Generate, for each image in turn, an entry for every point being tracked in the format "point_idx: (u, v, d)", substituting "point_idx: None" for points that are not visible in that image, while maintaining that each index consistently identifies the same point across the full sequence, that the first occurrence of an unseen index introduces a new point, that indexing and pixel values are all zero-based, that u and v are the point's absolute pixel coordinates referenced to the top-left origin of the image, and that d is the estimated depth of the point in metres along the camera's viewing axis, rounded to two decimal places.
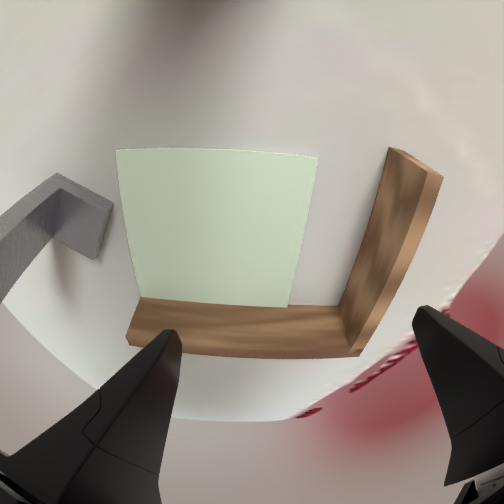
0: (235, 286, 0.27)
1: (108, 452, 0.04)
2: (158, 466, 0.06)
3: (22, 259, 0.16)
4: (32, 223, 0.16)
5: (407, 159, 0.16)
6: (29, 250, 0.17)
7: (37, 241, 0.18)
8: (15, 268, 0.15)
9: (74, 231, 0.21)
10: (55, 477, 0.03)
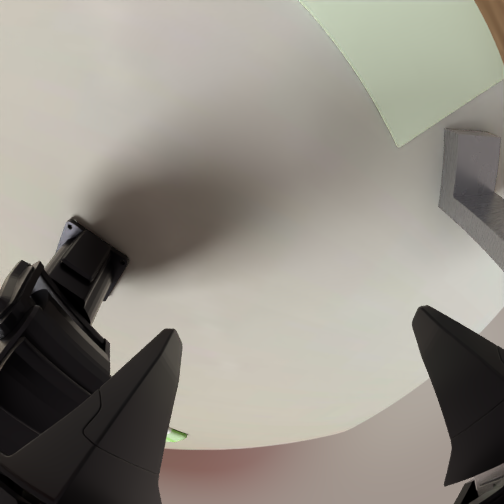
0: None
1: (108, 452, 0.04)
2: (158, 466, 0.06)
3: None
4: (494, 220, 0.13)
5: None
6: None
7: None
8: None
9: (483, 166, 0.15)
10: (55, 477, 0.03)
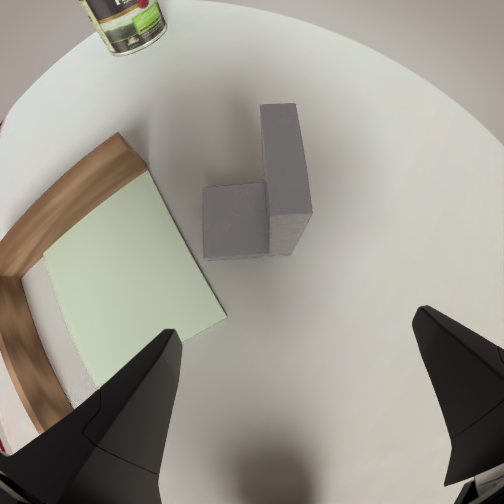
0: (79, 247, 0.24)
1: (108, 452, 0.04)
2: (158, 466, 0.06)
3: (264, 170, 0.17)
4: None
5: None
6: None
7: None
8: None
9: (234, 210, 0.22)
10: (55, 477, 0.03)
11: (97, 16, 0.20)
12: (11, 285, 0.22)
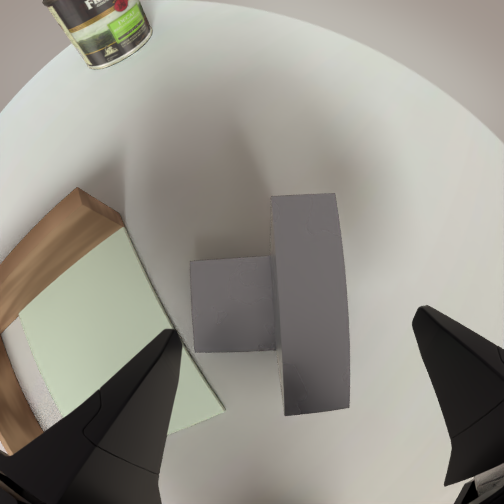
0: (53, 315, 0.19)
1: (108, 452, 0.04)
2: (158, 466, 0.06)
3: None
4: (276, 337, 0.13)
5: None
6: None
7: (272, 280, 0.14)
8: (273, 269, 0.10)
9: (231, 294, 0.17)
10: (55, 477, 0.03)
11: (67, 23, 0.16)
12: None
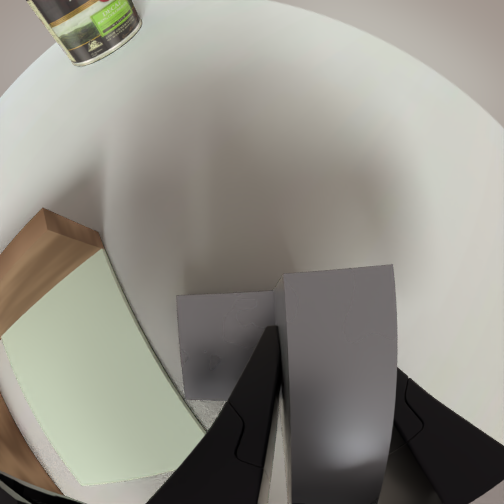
0: (34, 342, 0.16)
1: (265, 471, 0.04)
2: (271, 473, 0.06)
3: None
4: None
5: None
6: None
7: None
8: (280, 342, 0.07)
9: (226, 337, 0.14)
10: None
11: (47, 17, 0.12)
12: None
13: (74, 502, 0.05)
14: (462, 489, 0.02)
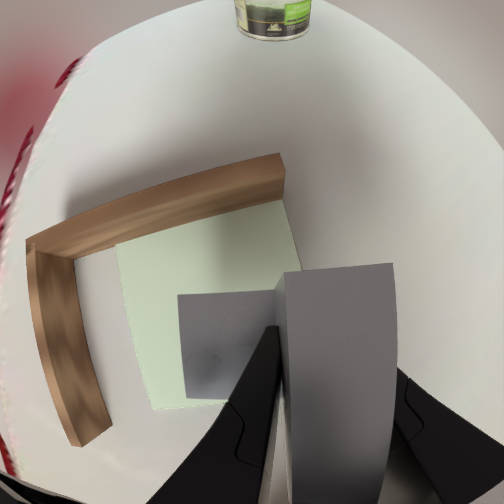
0: (172, 258, 0.23)
1: (266, 471, 0.04)
2: (271, 473, 0.06)
3: (279, 336, 0.08)
4: (281, 402, 0.09)
5: (97, 435, 0.18)
6: None
7: None
8: None
9: (227, 335, 0.14)
10: None
11: None
12: (62, 268, 0.22)
13: (74, 502, 0.05)
14: (462, 489, 0.02)
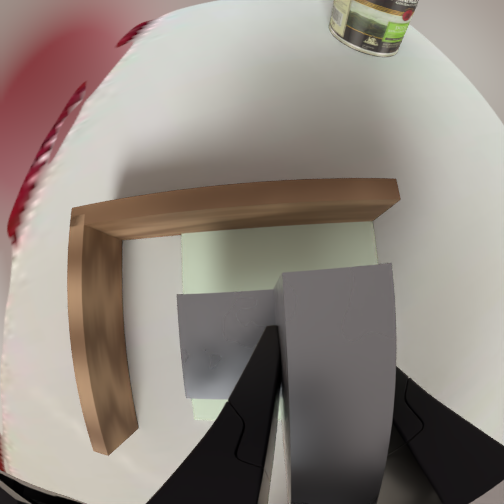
0: (250, 261, 0.21)
1: (266, 471, 0.04)
2: (271, 473, 0.06)
3: None
4: None
5: (123, 441, 0.17)
6: None
7: None
8: None
9: (226, 335, 0.14)
10: None
11: None
12: (110, 249, 0.21)
13: (74, 502, 0.05)
14: (462, 489, 0.02)
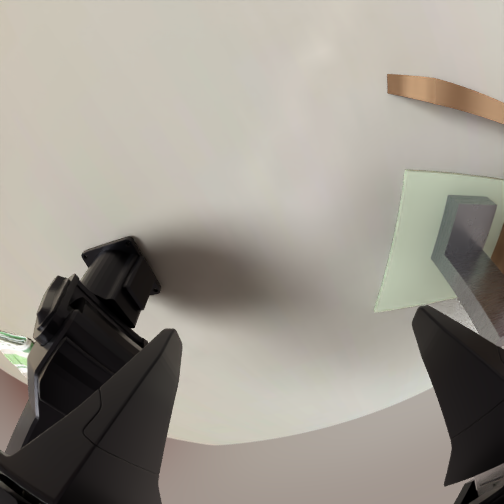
0: None
1: (108, 452, 0.04)
2: (158, 466, 0.06)
3: (502, 287, 0.16)
4: (476, 280, 0.17)
5: (410, 97, 0.12)
6: (495, 279, 0.17)
7: (488, 270, 0.18)
8: None
9: (476, 229, 0.19)
10: (55, 477, 0.03)
11: None
12: None
13: None
14: None
